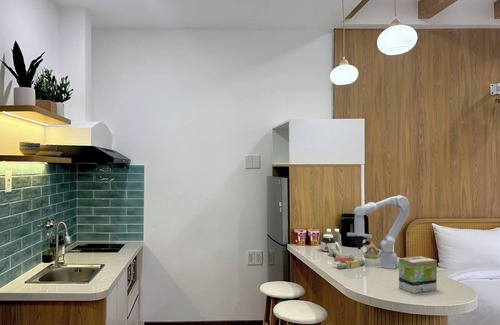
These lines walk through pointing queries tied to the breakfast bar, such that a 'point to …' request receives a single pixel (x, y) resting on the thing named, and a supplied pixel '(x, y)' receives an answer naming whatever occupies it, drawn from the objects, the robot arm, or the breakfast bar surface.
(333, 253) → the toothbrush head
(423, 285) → the tea box
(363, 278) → the breakfast bar surface
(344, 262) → the valve pipe
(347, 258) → the lever
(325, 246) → the spread jar
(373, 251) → the ceramic model
